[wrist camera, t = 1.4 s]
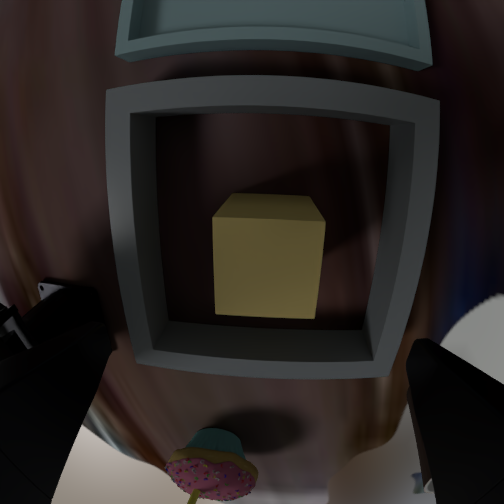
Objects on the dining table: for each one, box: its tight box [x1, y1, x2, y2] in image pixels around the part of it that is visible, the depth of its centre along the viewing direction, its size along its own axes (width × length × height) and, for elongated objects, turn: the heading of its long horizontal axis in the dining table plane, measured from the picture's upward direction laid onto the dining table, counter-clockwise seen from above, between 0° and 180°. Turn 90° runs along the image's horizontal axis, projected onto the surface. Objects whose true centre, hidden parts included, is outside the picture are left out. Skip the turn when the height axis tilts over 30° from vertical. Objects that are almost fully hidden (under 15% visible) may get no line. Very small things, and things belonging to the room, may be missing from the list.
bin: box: [105, 75, 440, 379], centre depth 16 cm, size 17×17×4 cm
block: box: [212, 193, 326, 319], centre depth 15 cm, size 4×4×6 cm
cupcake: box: [165, 428, 258, 504], centre depth 20 cm, size 9×8×12 cm
